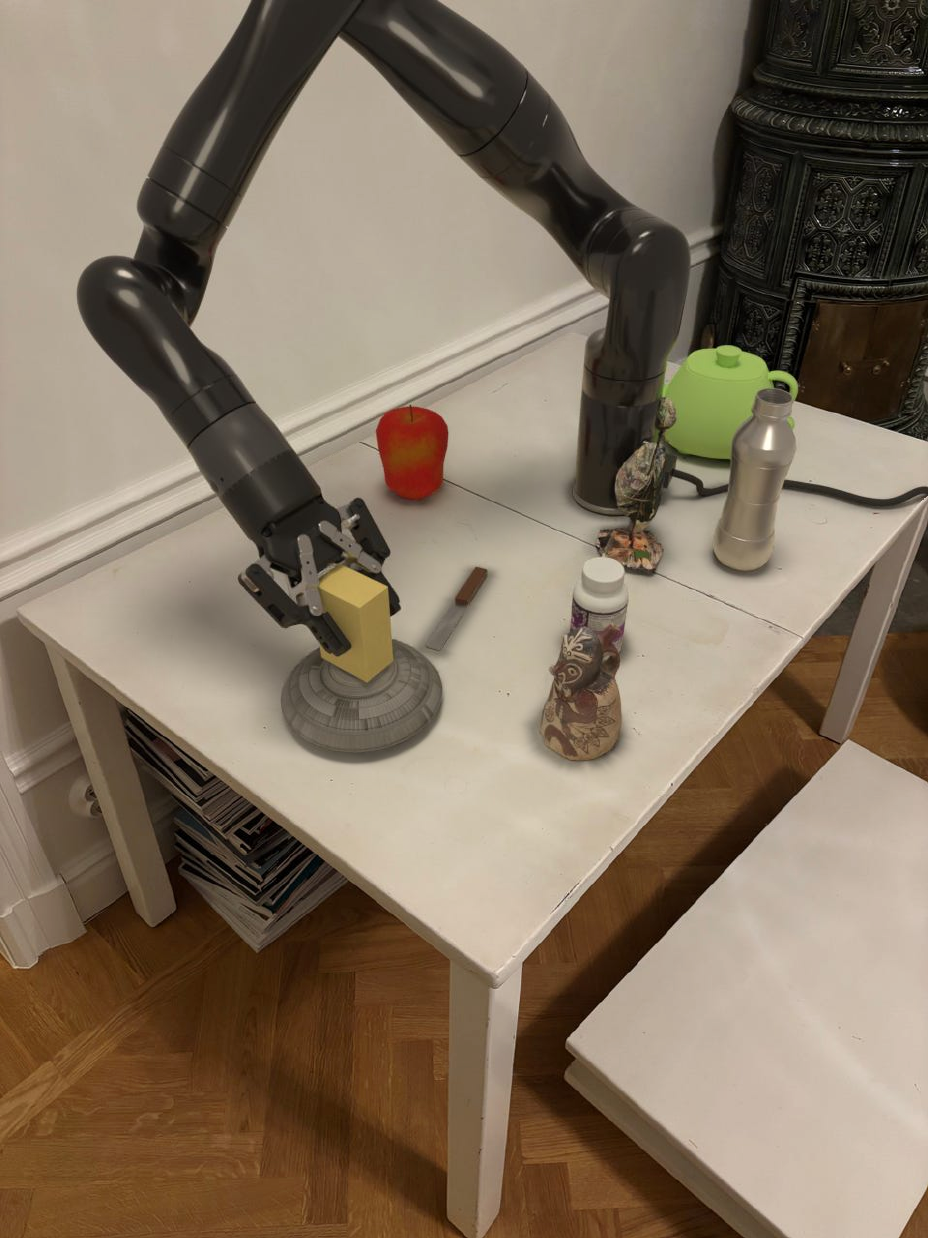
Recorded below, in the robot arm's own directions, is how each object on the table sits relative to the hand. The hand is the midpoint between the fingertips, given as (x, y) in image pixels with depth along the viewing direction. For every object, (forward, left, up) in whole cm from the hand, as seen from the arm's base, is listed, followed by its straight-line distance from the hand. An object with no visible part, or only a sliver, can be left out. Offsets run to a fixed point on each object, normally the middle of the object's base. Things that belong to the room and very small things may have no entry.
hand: (369, 632), depth 82 cm
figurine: (-18, -4, -10) cm, 21 cm away
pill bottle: (-16, -16, -10) cm, 25 cm away
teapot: (-18, -62, -10) cm, 66 cm away
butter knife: (-1, -17, -10) cm, 20 cm away
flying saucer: (+2, 0, -10) cm, 10 cm away
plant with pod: (-15, -34, -10) cm, 39 cm away
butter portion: (+2, 0, -4) cm, 5 cm away
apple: (+13, -36, -10) cm, 40 cm away
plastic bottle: (-27, -36, -10) cm, 47 cm away
